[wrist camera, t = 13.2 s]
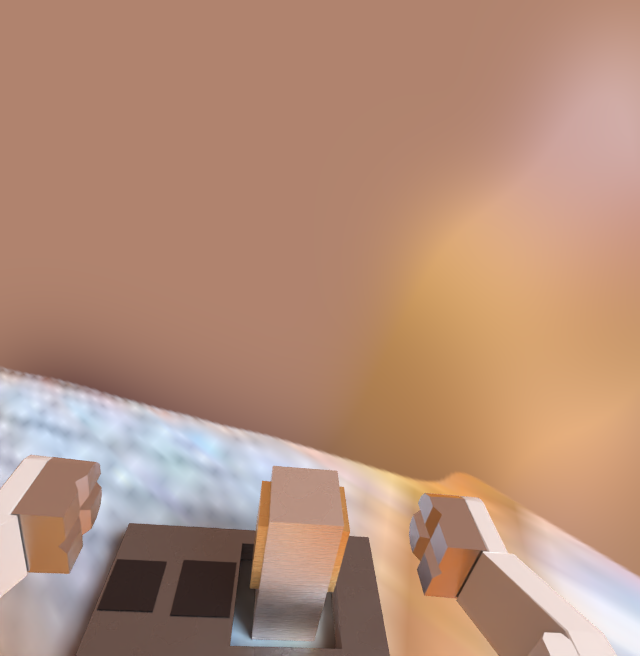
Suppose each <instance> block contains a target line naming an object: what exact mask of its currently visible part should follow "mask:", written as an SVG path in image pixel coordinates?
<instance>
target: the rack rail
mask: <svg viewBox="0 0 640 656" xmlns="http://www.w3.org/2000/svg"><path fill="white" fill-rule="evenodd" d="M254 539H255V531H253V530H236V529H219V528H202V527H185V526H168V525H151V524H134V523H129V525H128V528H127V530H126V533H125V535H124V538H123V540H122V542H121V545H120V547H119V550H118V552H117V555H116V557H115V560H114V562H113V565H112V567H111V569H110V572H109V574H108V577H107V579H106V582H105V584H104V587H103V589H102V592H101V594H100V596H99V599H98V601H97V604H96V606H95V609H94V611H93V614H92V616H91V618H90V621H89V623H88V626H87V628H86V631H85V633H84V636H83V638H82V641H81V643H80V645H79V648H78V650H77V653H76V655H75V656H390V654H389V649H388V643H387V638H386V632H385V626H384V621H383V615H382V610H381V604H380V599H379V593H378V588H377V582H376V576H375V571H374V565H373V560H372V554H371V549H370V543H369V538H368V537H354V536H349V537H348V541H347V544H346V548H345V552H344V556H343V559H342V563H341V567H340V570H339V574H338V578H337V581H336V585H335V589H334V592H331V595H332V608H333V620H334V633H335V645H336V649H326V648H288V647H250V646H230V642H231V633H232V625H233V617H234V608H235V600H236V592H237V584H238V575H239V567H240V560H252V559H253V549H254Z"/></svg>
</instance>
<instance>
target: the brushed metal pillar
mask: <svg viewBox="0 0 640 656" xmlns="http://www.w3.org/2000/svg"><path fill="white" fill-rule="evenodd" d="M349 533H350V529H349V521H348V514H347V507H346V499H345V492H344V487H339V481H338V473H337V471H332V470H319V469H306V468H293V467H281V466H273V468H272V475H271V482H269V481H262V486H261V494H260V501H259V509H258V516H257V524H256V531H255V539H254V549H253V559H252V570H251V580H250V588H253V589H256V592H255V604H254V616H253V628H252V639H258V640H292V641H314V640H315V636H316V632H317V629H318V625H319V621H320V617H321V613H322V609H323V606H324V602H325V598H326V594H327V592H334V589H335V585H336V581H337V578H338V574H339V570H340V567H341V563H342V559H343V556H344V552H345V548H346V544H347V541H348V537H349Z"/></svg>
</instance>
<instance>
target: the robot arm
mask: <svg viewBox="0 0 640 656" xmlns="http://www.w3.org/2000/svg"><path fill="white" fill-rule="evenodd" d="M100 474H101V472H100V464H99V463H97V462H90V461H82V460H74V459H65V458H57V457H46V456H37V455H30V456H28V457H27V458H25V459H24V460H23V461H22V462H21V463H20V465H19V466H18V467H17V468H16V470H15V471H14V472H13V474H12V475H11V476H10V477H9V479H8V480H7V481H6V482H5V484H4V485H3V486H2V488H1V489H0V598H1V597H2V596H3V595H4V594H5V593H6V592H8V591H9V590H10V589H11V588H12V587H14V586H15V585H16V584H17V583H18V582H20V581H21V580H22V579H23V578H24V577H26V576H27V572H34V573H64V574H69V573H70V571H71V569H72V567H73V565H74V563H75V561H76V559H77V557H78V555H79V553H80V551H81V549H82V547H83V541H82V535H83V534H85V533H86V532H87V531H89V530H90V529H91V528H92V526H93V524H94V522H95V520H96V518H97V514H98V511H99V508H100V504H101V496H102V490H101V486H100V485H99V484H98V483H97V480H98V478H99V476H100ZM418 504H419V507H420V511H418V512H417V513H415V514H414V515H413V517H412V520H411V523H410V532H409V537H410V544H411V548H412V552H413V554H414V555H415V556H416V557H417V558H418V559H419V560H420V561H421V562H420V564H419V566H418V569H417V571H418V574H419V578H420V582H421V585H422V589H423V592H424V595H425V596H436V597H446V598H457V600H456V601H457V602H458V603H459V604H460V606H461V607H462V608H463V610H464V611H465V612H466V614H467V615H468V616H469V617H470V619H471V620H472V621H473V623H474V624H475V625H476V626H477V628H478V629H479V630H480V632H481V633H482V634H483V636H484V637H485V638H486V639H487V641H488V642H489V643H490V645H491V646H492V647H493V648H494V650H495V651H496V652H497V654H498V655H499V656H617V655H616V653H615V652H614V650H613V648H612V647H611V645H610V643H609V642H608V640H607V638H606V637H605V635H604V634H603V633H602V632H601V631H600V630H599V629H598V628H597V627H596V626H594V625H593V624H592V623H591V622H590V621H589V620H588V619H586V618H585V617H584V616H583V615H582V614H581V613H580V612H579V611H577V610H576V609H575V608H574V607H573V606H572V605H571V604H570V603H568V602H567V601H566V600H565V599H564V598H563V597H562V596H561V595H559V594H558V593H557V592H556V591H555V590H554V589H553V588H552V587H550V586H549V585H548V584H547V583H546V582H545V581H544V580H543V579H541V578H540V577H539V576H538V575H537V574H536V573H535V572H534V571H532V570H531V569H530V568H529V567H528V566H527V565H526V564H525V563H523V562H522V561H521V560H520V559H519V558H518V557H517V556H516V555H514V554H510V553H508V552H507V550H506V548H505V546H504V544H503V542H502V540H501V538H500V536H499V534H498V532H497V530H496V527H495V525H494V523H493V521H492V519H491V517H490V515H489V513H488V511H487V509H486V507H485V505H484V503H483V501H482V500H481V499H479V498H475V497H464V496H460V497H459V496H453V495H441V494H429V493H424V494H423V495H422V496H421V498H420V500H419V503H418Z"/></svg>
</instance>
